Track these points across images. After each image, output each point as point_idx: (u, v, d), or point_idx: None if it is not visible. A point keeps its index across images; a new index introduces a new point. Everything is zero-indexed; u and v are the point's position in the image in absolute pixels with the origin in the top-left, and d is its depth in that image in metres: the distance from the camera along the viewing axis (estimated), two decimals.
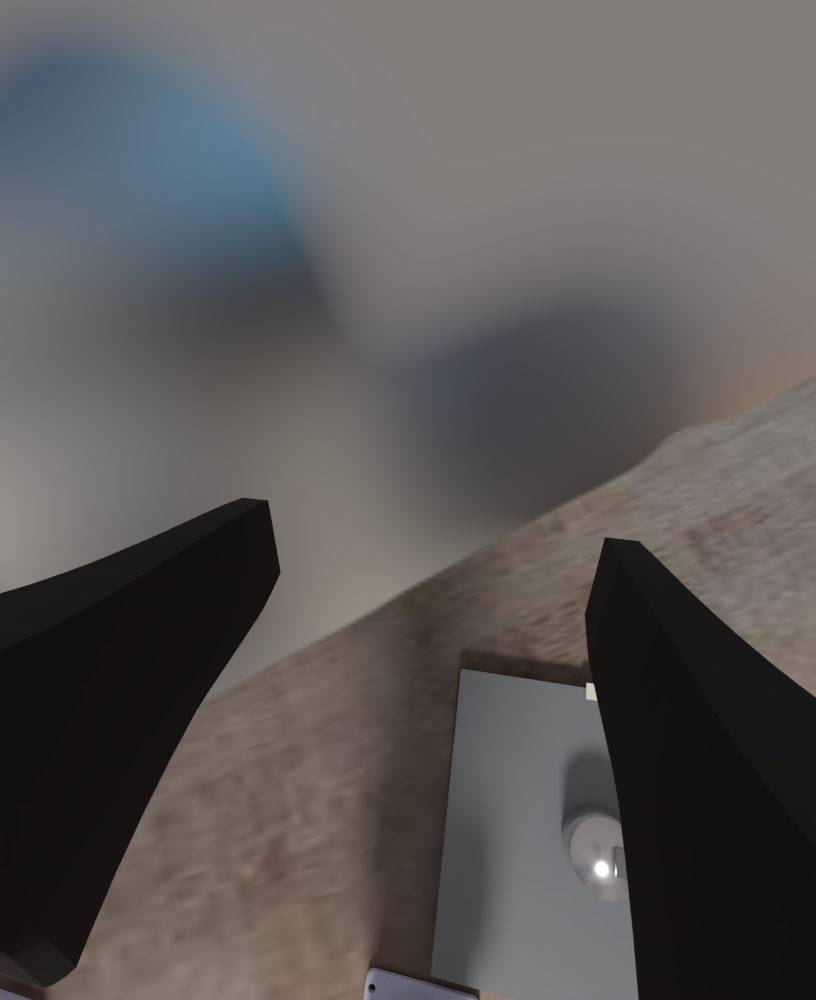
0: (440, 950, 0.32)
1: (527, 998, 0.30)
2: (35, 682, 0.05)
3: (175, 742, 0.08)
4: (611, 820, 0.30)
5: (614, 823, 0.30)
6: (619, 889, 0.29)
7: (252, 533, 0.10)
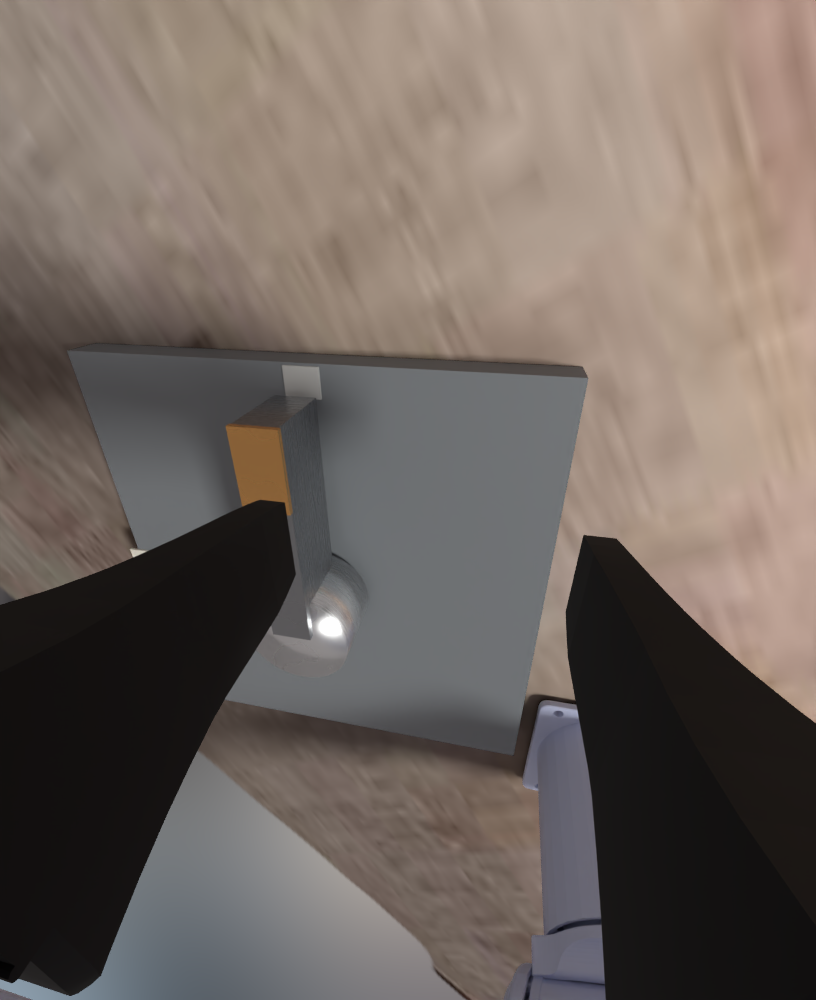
0: (486, 744, 0.25)
1: (524, 676, 0.22)
2: (65, 688, 0.05)
3: (196, 746, 0.08)
4: None
5: None
6: (328, 632, 0.18)
7: (270, 535, 0.09)
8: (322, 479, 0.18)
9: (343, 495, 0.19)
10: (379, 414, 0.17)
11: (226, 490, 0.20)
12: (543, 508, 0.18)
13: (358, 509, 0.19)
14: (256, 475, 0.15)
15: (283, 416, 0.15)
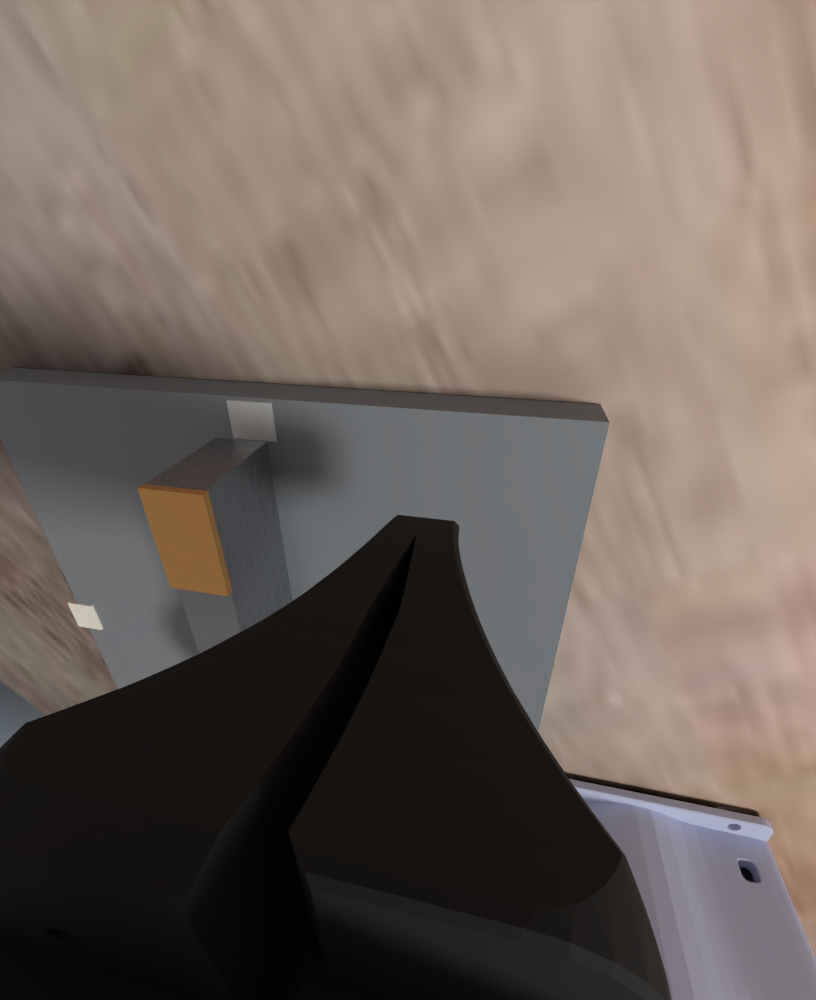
0: None
1: None
2: (321, 741, 0.05)
3: None
4: None
5: None
6: None
7: None
8: (279, 537, 0.15)
9: (308, 552, 0.16)
10: (347, 460, 0.14)
11: None
12: (550, 574, 0.14)
13: (326, 568, 0.16)
14: (182, 548, 0.11)
15: (217, 472, 0.11)
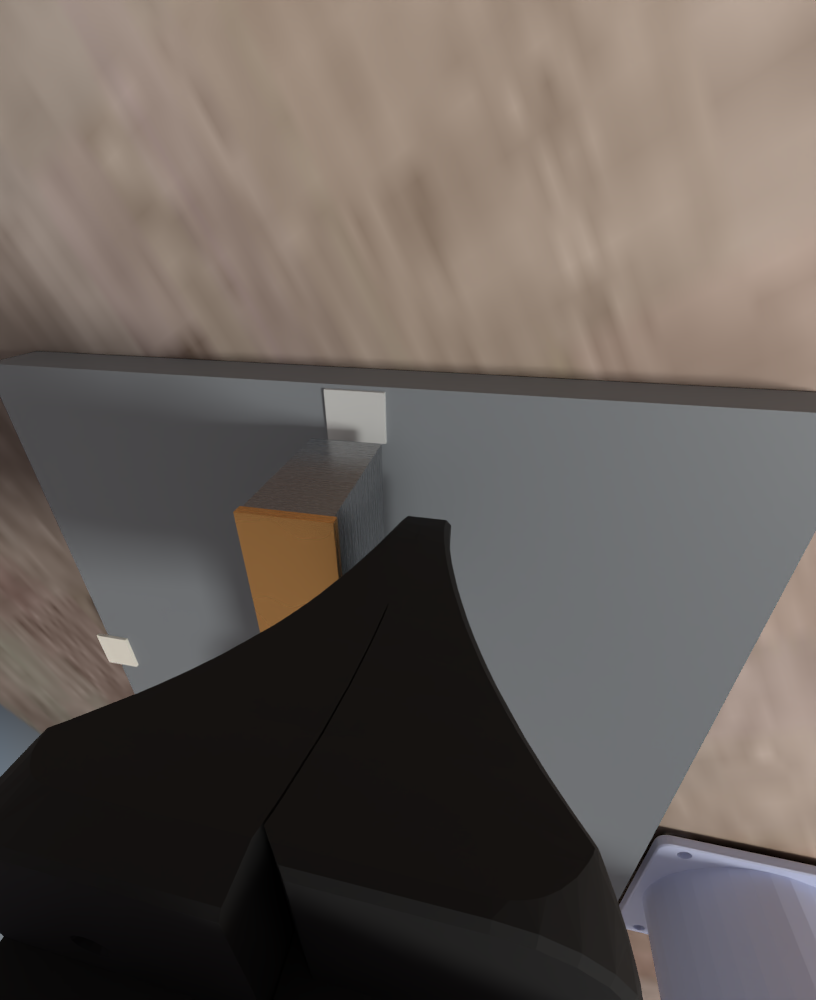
0: None
1: (652, 821, 0.16)
2: None
3: None
4: None
5: None
6: None
7: None
8: None
9: None
10: (480, 467, 0.11)
11: (232, 567, 0.14)
12: (736, 614, 0.11)
13: None
14: (288, 594, 0.08)
15: (337, 489, 0.08)
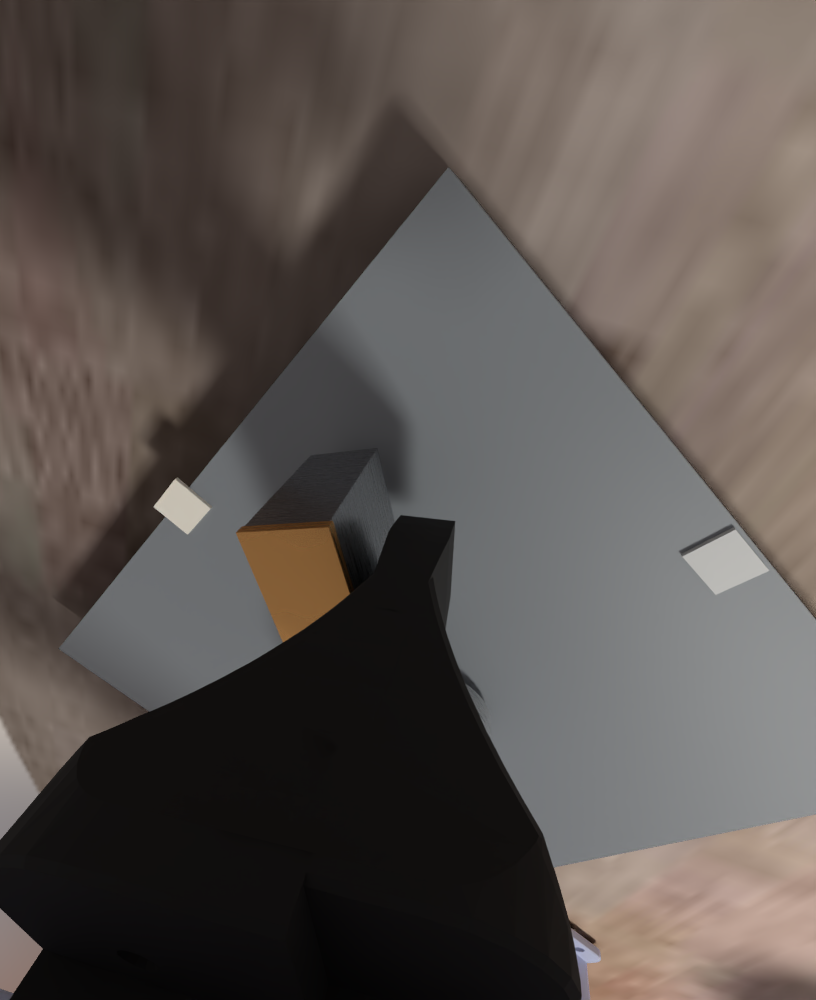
0: None
1: None
2: None
3: None
4: None
5: None
6: None
7: (449, 557, 0.09)
8: None
9: (579, 670, 0.13)
10: (745, 654, 0.12)
11: None
12: (744, 815, 0.15)
13: (575, 690, 0.13)
14: (303, 606, 0.08)
15: (333, 495, 0.08)
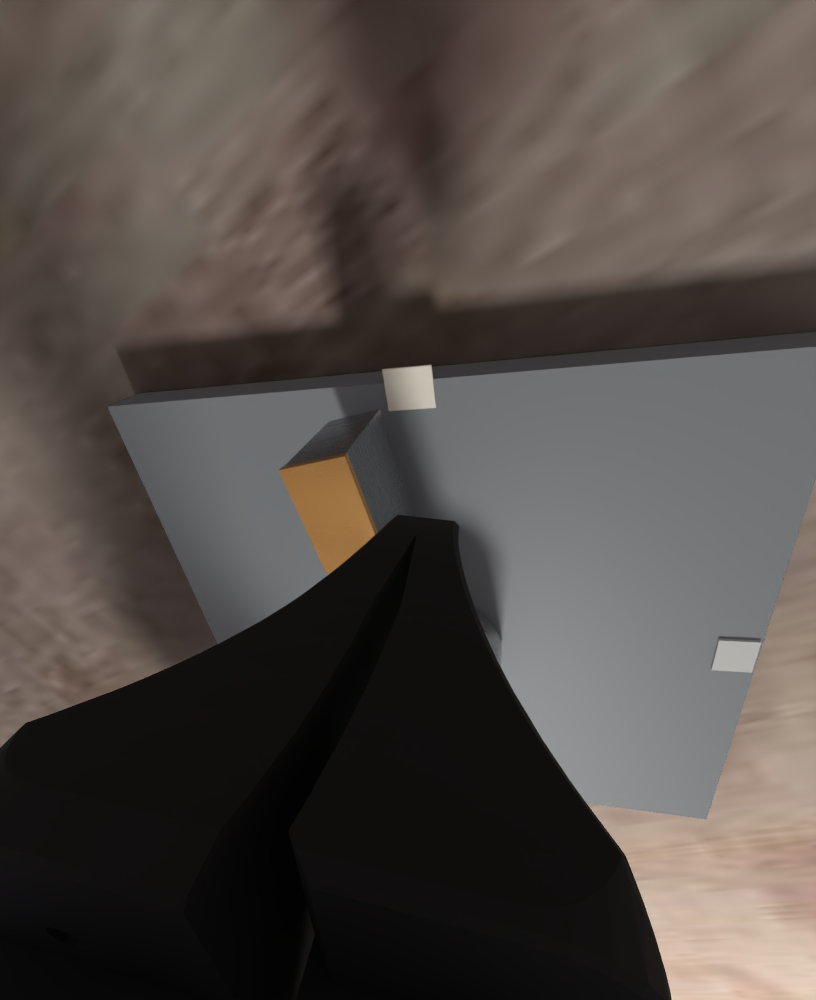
0: None
1: None
2: (321, 742, 0.05)
3: None
4: None
5: None
6: None
7: None
8: (412, 510, 0.14)
9: (582, 670, 0.17)
10: (686, 708, 0.17)
11: (579, 551, 0.15)
12: (583, 794, 0.21)
13: (565, 680, 0.17)
14: (332, 524, 0.11)
15: (347, 440, 0.11)
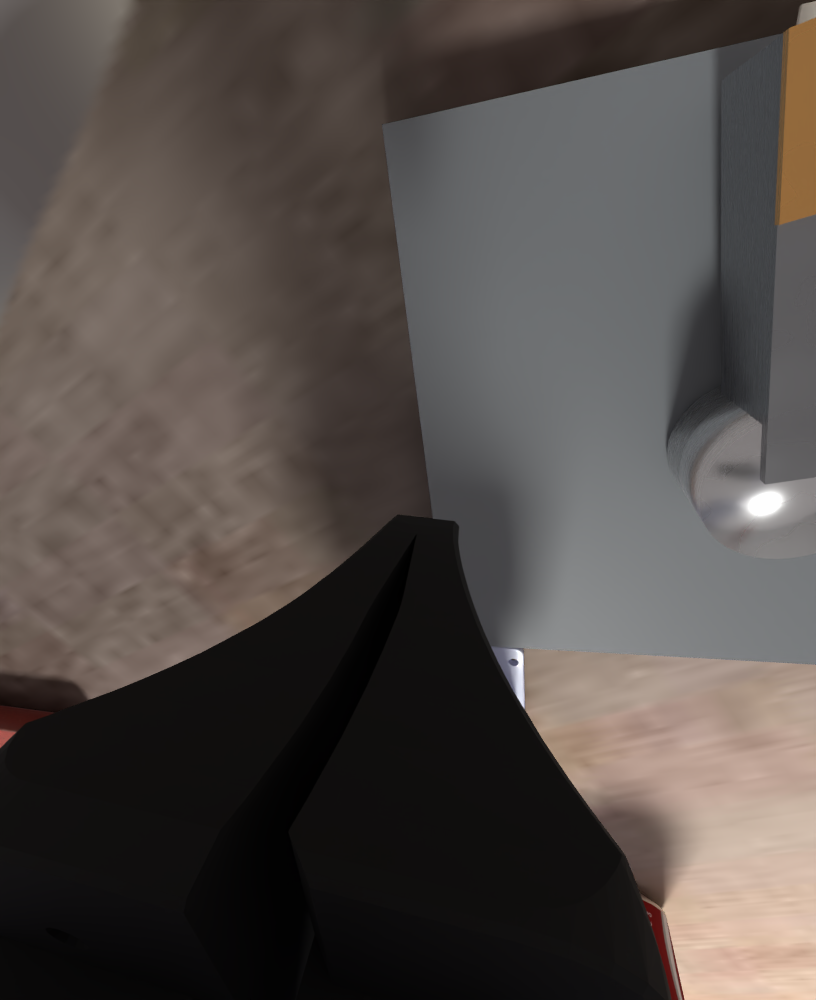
0: None
1: (592, 648, 0.21)
2: (321, 740, 0.05)
3: None
4: (699, 491, 0.13)
5: (705, 488, 0.12)
6: None
7: None
8: None
9: None
10: None
11: None
12: None
13: None
14: None
15: None
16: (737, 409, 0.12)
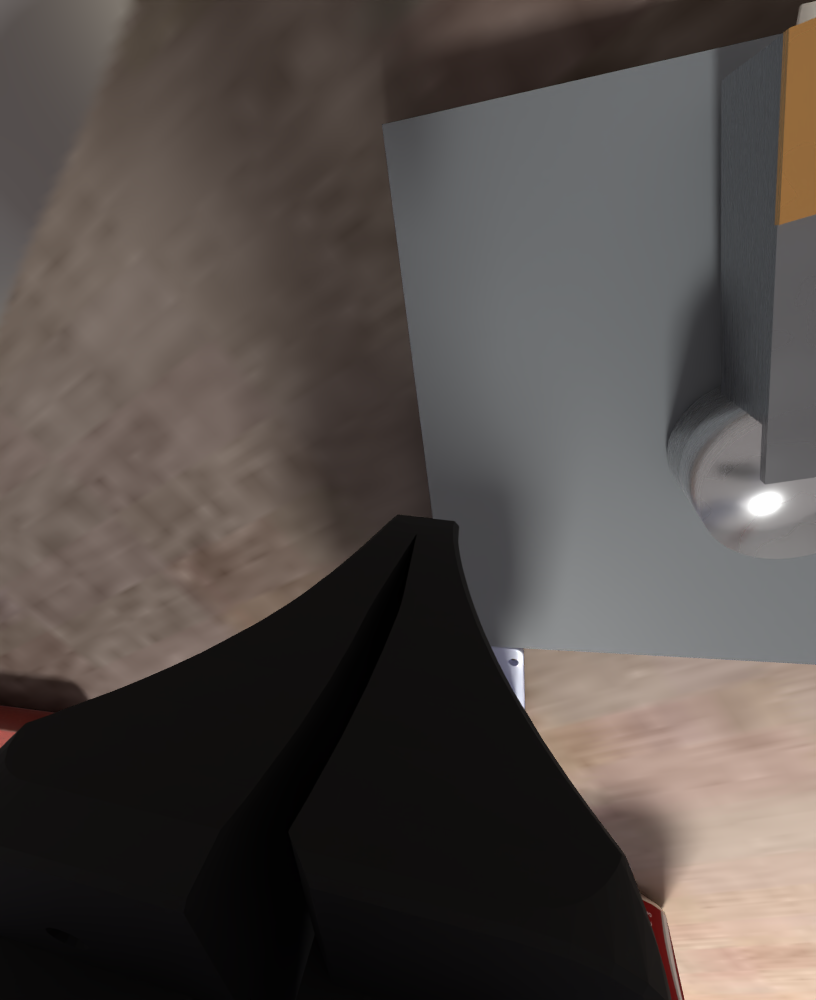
0: None
1: (592, 648, 0.21)
2: (321, 740, 0.05)
3: None
4: (699, 491, 0.13)
5: (705, 488, 0.12)
6: None
7: None
8: None
9: None
10: None
11: None
12: None
13: None
14: None
15: None
16: (737, 409, 0.12)
